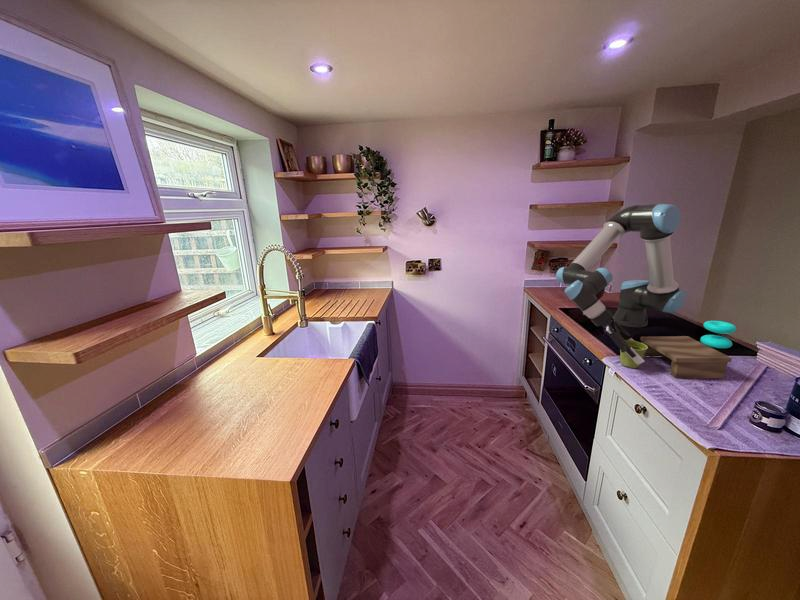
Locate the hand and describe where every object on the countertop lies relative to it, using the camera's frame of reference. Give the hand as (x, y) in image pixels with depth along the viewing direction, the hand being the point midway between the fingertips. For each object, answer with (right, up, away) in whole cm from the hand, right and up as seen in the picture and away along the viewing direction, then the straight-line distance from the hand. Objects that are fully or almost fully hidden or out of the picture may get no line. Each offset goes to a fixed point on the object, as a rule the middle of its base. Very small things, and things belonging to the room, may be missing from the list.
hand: (640, 357), depth 122 cm
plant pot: (-2, -4, +3) cm, 5 cm away
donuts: (+45, +3, +16) cm, 48 cm away
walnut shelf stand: (+15, -3, +1) cm, 16 cm away
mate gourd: (+25, +18, +76) cm, 82 cm away
